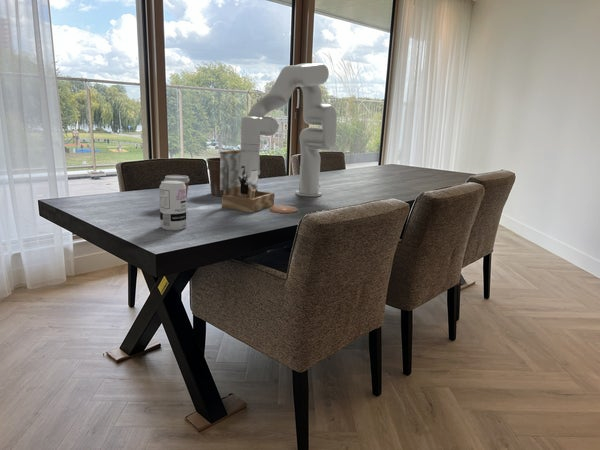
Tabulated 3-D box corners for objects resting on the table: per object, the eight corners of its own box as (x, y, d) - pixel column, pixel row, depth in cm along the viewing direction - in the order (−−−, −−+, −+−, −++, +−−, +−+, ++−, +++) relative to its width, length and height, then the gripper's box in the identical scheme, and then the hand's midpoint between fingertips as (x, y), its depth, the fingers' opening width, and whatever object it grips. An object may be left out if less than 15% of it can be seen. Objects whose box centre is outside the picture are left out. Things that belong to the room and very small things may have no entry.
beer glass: (254, 208, 180) (255, 171, 176) (237, 207, 181) (238, 170, 178) (259, 205, 187) (260, 169, 183) (243, 203, 188) (244, 167, 184)
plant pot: (199, 195, 201) (199, 159, 197) (216, 190, 216) (216, 156, 212) (232, 199, 196) (233, 162, 192) (247, 193, 211) (248, 159, 207)
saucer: (277, 206, 187) (277, 204, 187) (301, 209, 183) (301, 207, 183) (264, 210, 177) (264, 208, 177) (289, 214, 173) (290, 212, 173)
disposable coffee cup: (194, 206, 178) (194, 176, 175) (178, 210, 169) (178, 179, 166) (175, 203, 182) (175, 173, 179) (159, 207, 173) (158, 176, 170)
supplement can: (163, 224, 149) (162, 179, 146) (188, 224, 150) (188, 180, 146) (157, 230, 142) (156, 183, 138) (184, 231, 142) (184, 184, 139)
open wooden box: (243, 200, 195) (244, 149, 190) (274, 204, 189) (276, 152, 184) (219, 207, 179) (219, 151, 174) (252, 212, 173) (253, 155, 168)
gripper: (253, 146, 187) (251, 188, 192) (230, 148, 172) (229, 194, 176) (268, 148, 185) (267, 191, 189) (247, 150, 169) (245, 197, 174)
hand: (249, 192), depth 183 cm, fingers closed on beer glass, 6 cm apart
